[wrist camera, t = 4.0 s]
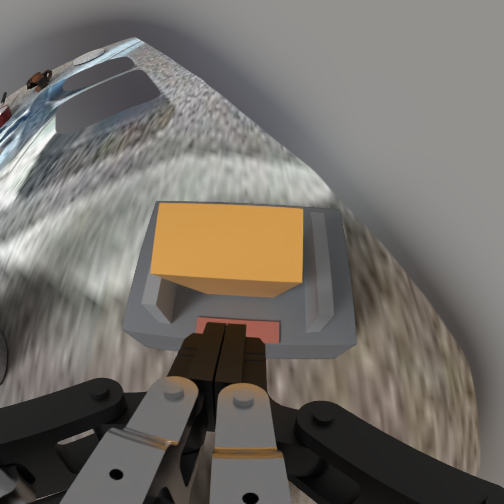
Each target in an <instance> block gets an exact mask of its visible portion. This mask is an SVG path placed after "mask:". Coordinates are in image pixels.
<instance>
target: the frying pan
mask: <svg viewBox="0 0 504 504" xmlns="http://www.w3.org/2000/svg"><path fill="white" fill-rule="evenodd" d="M6 94H7V93H6V92H5V93H4V95H3V98H2V101H1V106H0V127H2V126H3V125H4V124H5V123H6V122H7V121H8V119H9V118H10V117H11V111H10V109H9V107H8V105H5V106H3V104H4V102H5V98H6Z"/></svg>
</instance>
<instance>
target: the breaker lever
mask: <svg viewBox="0 0 504 504" xmlns="http://www.w3.org/2000/svg"><path fill="white" fill-rule="evenodd" d="M302 271H303V209H300V208H286V207H269V206H250V205H227V204H194V203H159V210H158V216H157V223H156V230H155V237H154V245H153V253H152V262H151V272H150V274H153V275H156V276H158V277H161V278H164V279H166V280H169V281H172V282H174V283H177V284H180V285H183V286H186V287H188V288H191V289H194V290H197V291H200V292H203V293H205V294H216V295H231V296H249V297H269V298H274V297H276V296H278V295H280V294H282V295H283V294H284V292H285V291H287V290H289V289H291V288H293V287H295V286H297V285H298V284H300V283H302Z"/></svg>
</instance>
